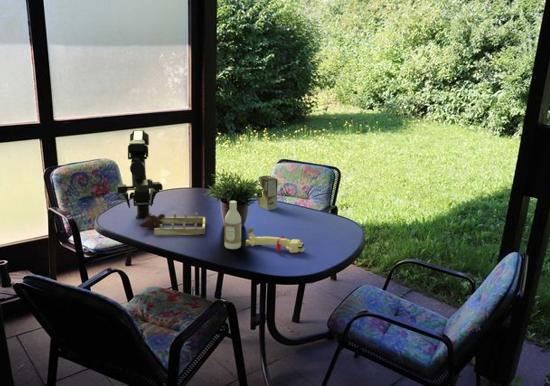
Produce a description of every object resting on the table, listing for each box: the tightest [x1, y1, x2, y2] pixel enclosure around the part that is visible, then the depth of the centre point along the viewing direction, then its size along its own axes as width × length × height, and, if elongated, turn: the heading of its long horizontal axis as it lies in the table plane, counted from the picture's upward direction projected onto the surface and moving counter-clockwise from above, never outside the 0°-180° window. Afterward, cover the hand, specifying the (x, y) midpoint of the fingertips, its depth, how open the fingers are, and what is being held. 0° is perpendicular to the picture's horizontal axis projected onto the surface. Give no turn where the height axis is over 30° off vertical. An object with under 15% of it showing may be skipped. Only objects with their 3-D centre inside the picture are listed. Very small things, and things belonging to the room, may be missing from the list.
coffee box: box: [257, 175, 278, 211], centre depth 255 cm, size 9×6×16 cm
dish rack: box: [153, 212, 206, 236], centre depth 224 cm, size 15×22×5 cm
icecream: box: [138, 213, 166, 231], centre depth 222 cm, size 7×7×15 cm
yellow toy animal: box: [245, 227, 306, 254], centre depth 206 cm, size 10×9×25 cm
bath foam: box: [224, 200, 242, 250], centre depth 204 cm, size 7×7×20 cm
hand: (140, 207), depth 211 cm, fingers open, 9 cm apart
